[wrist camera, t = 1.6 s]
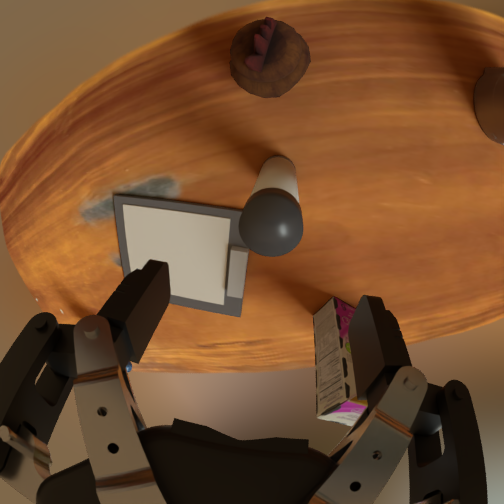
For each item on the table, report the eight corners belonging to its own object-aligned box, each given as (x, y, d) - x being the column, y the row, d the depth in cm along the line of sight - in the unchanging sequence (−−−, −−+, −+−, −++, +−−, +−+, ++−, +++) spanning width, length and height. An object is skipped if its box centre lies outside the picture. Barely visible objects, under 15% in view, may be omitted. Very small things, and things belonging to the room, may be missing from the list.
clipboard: (116, 194, 31) (109, 198, 30) (254, 211, 30) (252, 217, 29) (129, 290, 40) (124, 296, 38) (240, 314, 39) (239, 322, 37)
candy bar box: (386, 323, 37) (410, 417, 23) (364, 341, 39) (379, 433, 25) (333, 292, 35) (348, 401, 21) (310, 315, 37) (313, 420, 23)
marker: (263, 151, 27) (241, 193, 15) (299, 157, 27) (309, 204, 15) (258, 185, 29) (235, 251, 17) (293, 191, 29) (296, 261, 17)
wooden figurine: (275, 109, 24) (261, 111, 12) (229, 77, 23) (171, 52, 10) (317, 63, 21) (348, 20, 8) (271, 30, 20) (253, -37, 7)
